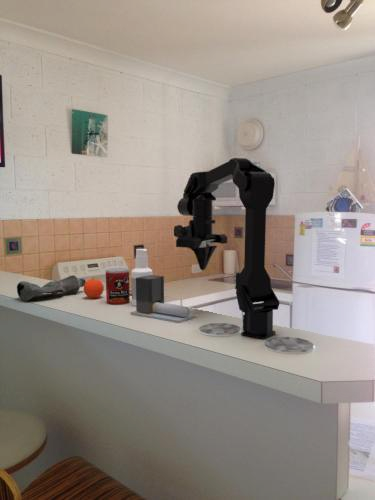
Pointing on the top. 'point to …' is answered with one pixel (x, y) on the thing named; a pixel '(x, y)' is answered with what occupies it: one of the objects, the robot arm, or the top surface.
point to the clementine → (93, 288)
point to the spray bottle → (139, 270)
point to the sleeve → (149, 292)
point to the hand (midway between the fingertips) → (202, 269)
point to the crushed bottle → (50, 287)
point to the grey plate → (167, 312)
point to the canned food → (117, 286)
